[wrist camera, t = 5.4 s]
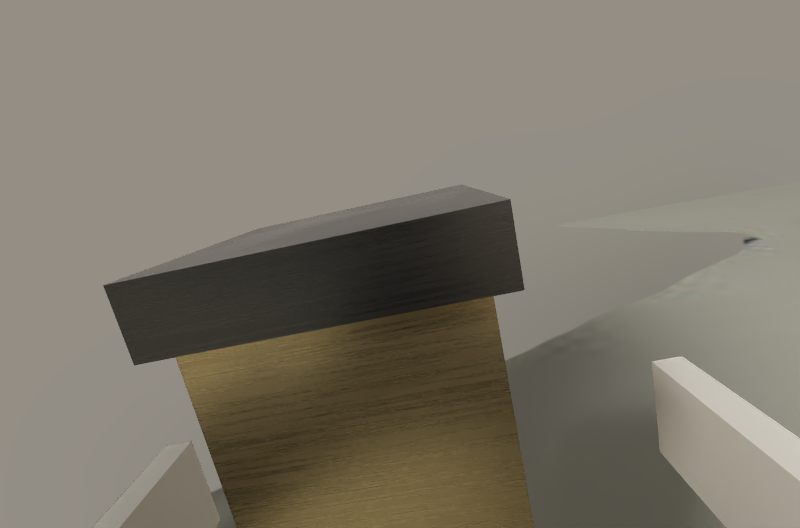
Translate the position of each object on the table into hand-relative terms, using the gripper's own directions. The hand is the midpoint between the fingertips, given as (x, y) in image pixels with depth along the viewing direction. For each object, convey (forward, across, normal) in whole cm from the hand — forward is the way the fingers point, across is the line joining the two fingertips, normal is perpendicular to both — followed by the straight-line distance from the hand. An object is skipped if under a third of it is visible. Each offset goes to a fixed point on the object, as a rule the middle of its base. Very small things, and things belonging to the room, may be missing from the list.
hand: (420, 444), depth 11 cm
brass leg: (-3, 0, -7) cm, 8 cm away
